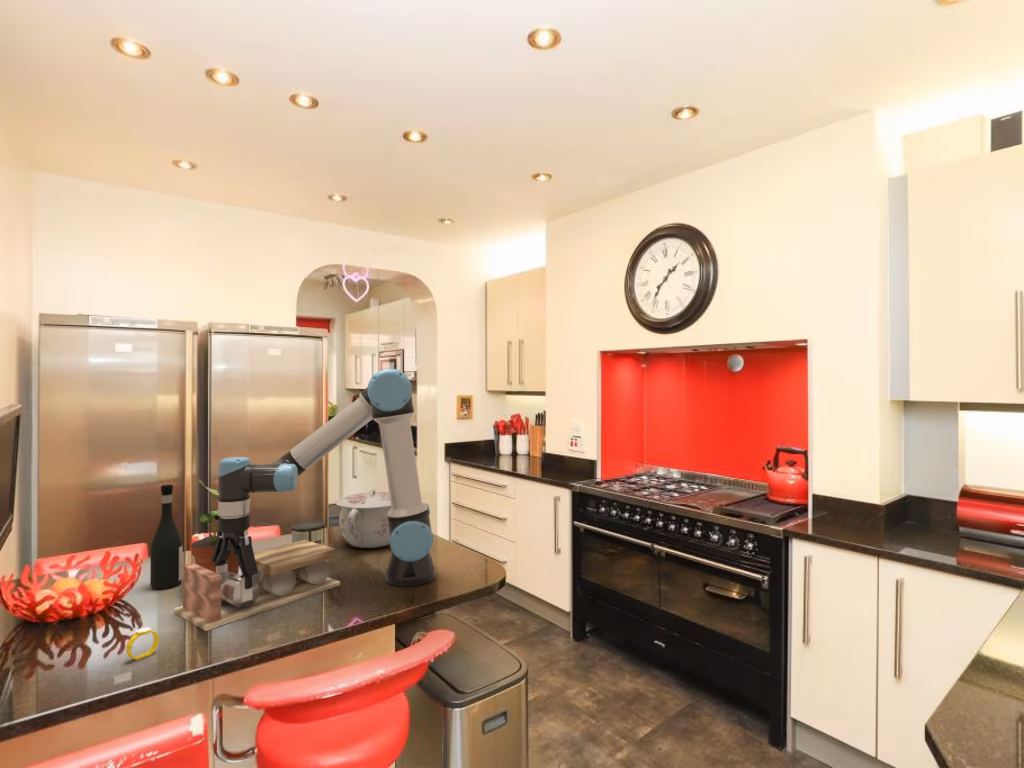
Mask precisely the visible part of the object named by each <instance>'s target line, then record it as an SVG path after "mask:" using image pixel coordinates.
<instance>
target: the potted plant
mask: <svg viewBox="0 0 1024 768" xmlns="http://www.w3.org/2000/svg"><path fill="white" fill-rule="evenodd" d="M197 481H198V482H199V483H200V484H201V485H202V486H203V487H204V488H206V489H207V490H208V491H209V493H210V496H209V497H210V498H211V499H215V500H219V490H217V489H212V488H210V487H207V486H206V485H205V483H204V482H203V481H204V480H203V479H201V478H200V479H198V480H197ZM215 495H216V496H215ZM252 500H253V499H252V497H250V498H249V501H251V502H252ZM210 503H211V505H210V506H211V507H213V504H212V501H210ZM209 512H210V513H207V512H201V513H200V516H199V517H198V523H201V524H202V525H203V526H204V525H206V526H207V529H208V536H205V537H203V538H201V539H199V540H195V541H193V542H192V543H191V546H190V547H191V548H190V549H191V550H190V551H191V556H193V557H194V564H196V565H199V566H201V567H203V568H206V569H208V570H210V571H213V572H215V573H216V565H215V562H212V556H213V552H214V549H215V545H216V541H217V533H218V531H219V530H218V523H217V525H216V524H215V520H216V521H218V519H219V518H220V517H221V516H219V515H218V509H216V510H213V508H211V510H210V511H209ZM214 519H215V520H214ZM209 523H212V527H213V534H212V533H211V531H210V526H209ZM215 525H216V526H215ZM217 557H218V556H217ZM227 560H228V563H225V564H228V572H233V573H235V574H237V575H239V570H240V566H239V563H238V560H237V558H236V555H234V554H233V552H232V551H231V553H230V555H229V557H228V559H227Z"/></svg>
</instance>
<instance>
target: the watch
mask: <svg viewBox="0 0 1024 768" xmlns="http://www.w3.org/2000/svg"><path fill="white" fill-rule="evenodd" d="M150 633H151V634H152V635H153V639H154V640H153V643H152V645H151V648H149V649H148V651H147V652H144V653H142V654H140V655H136V656H134V655H133V653H132V647H133V644H134V643H135V641H136V640H137V638H139V637H140V636H146V635H148V634H150ZM159 643H160V637H159V634H158V633H157V632H156V631H155V630H152V628H151V627H141V628H138V629H137V630H135V633H134V634H133V635H132V636H131V637H130V638H129V640H128V642H127V643H126V651H125V652H126V655H127V656H128V657H129V658H130V659H133V660H136V661H138V660H140V659H143V658H147V657H149V656H151V655H152V654H154V652H155V651H156V650H157V647H158V645H159Z"/></svg>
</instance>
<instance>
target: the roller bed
mask: <svg viewBox="0 0 1024 768" xmlns="http://www.w3.org/2000/svg"><path fill="white" fill-rule="evenodd" d="M330 572H331V567H330V564H329V562H328V561H327V560H324V561H321V562H317V563H314V564H310V565H307V566H303V567H300V568H296V569H293V570H289V571H286V572H282V573H279V574H276V575H272V576H270V575H268V574H265V573H263V572H260V571H258V573H257V574H254V575H253V581H254V582H256V583H257V584H258V586H259V596H258V598H257V600H256V601H255V602H254V603H253V604H252V605H251V606H249V607H247V608H244V609H241V608H238V607H236V606H234V605H231V604H229V603H227V602H225V601H223V600H221V575H220V574H217V573H215V572H213V571H210V570H208V569H206V568H203V567H201V566H199V565H196V564H195V562H191V563H187V564H182V605H181V606H177V607H175V608H174V614H176V615H178V616H179V617H181V618H182V619H185V620H186V621H188V622H190V623H191V624H193V625H195V626H196V627H198V628H199V629H202V630H203V631H205V632H207V631H210V630H213V628H214V629H216V627H217V628H219V627H218V626H220V627H222V626H221V625H223V626H225V625H224V624H226V625H228V624H227V623H229V624H231V623H230V622H232V623H234V622H237V621H240V620H243V619H245V618H244V617H246V618H248V617H247V616H249V617H251V616H250V615H252V616H254V615H253V614H255V615H257V614H256V613H258V614H260V613H259V612H261V613H263V612H262V611H264V612H266V611H265V610H267V611H269V610H268V609H270V610H273V609H275V607H276V608H279V607H282V606H284V604H285V605H287V603H288V604H290V603H289V602H291V603H293V602H296V601H299V600H301V599H305V598H309V597H311V596H314V595H317V594H320V593H323V592H325V591H329V590H331V589H334V587H335V588H337V586H338V587H341V581H340V580H337V579H333V578H331V577H329V575H330ZM328 589H329V590H328ZM298 599H299V600H298ZM295 600H296V601H295ZM292 601H293V602H292ZM281 605H282V606H281ZM278 606H279V607H278ZM272 608H273V609H272ZM242 618H243V619H242ZM239 619H240V620H239ZM236 620H237V621H236ZM233 621H234V622H233Z"/></svg>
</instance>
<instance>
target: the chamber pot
mask: <svg viewBox="0 0 1024 768" xmlns="http://www.w3.org/2000/svg"><path fill="white" fill-rule="evenodd" d="M334 504H335V505H336V506H337V507H340V508H341V510H340V512H339V515H338V519H339V520H338V524H339V528H340V532H341V535H342V536H343V538H344V539H345V541H346V543H348V544H349V545H350V546H351V547H356V548H359V549H364V548H372V549H379V547H380V548H384V547H387V546H390V532H389V525H388V518H387V513H388V512H389V511H390V509H391V500H390V494H389V492H386V491H377V490H376V489H375V488H372V489H371V490H370V492H360V493H356V494H355V493H354V494H351V495H350V494H349V495H347V496H343V497H340V498H338V499H336V500H335V503H334Z"/></svg>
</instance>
